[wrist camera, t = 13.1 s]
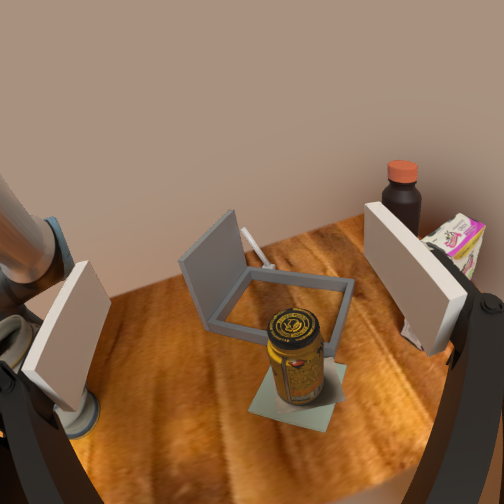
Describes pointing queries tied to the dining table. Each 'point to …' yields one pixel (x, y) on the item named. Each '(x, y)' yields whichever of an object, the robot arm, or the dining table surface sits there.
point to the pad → (306, 418)
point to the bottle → (403, 194)
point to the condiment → (300, 363)
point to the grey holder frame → (244, 281)
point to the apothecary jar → (12, 352)
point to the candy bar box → (453, 252)
